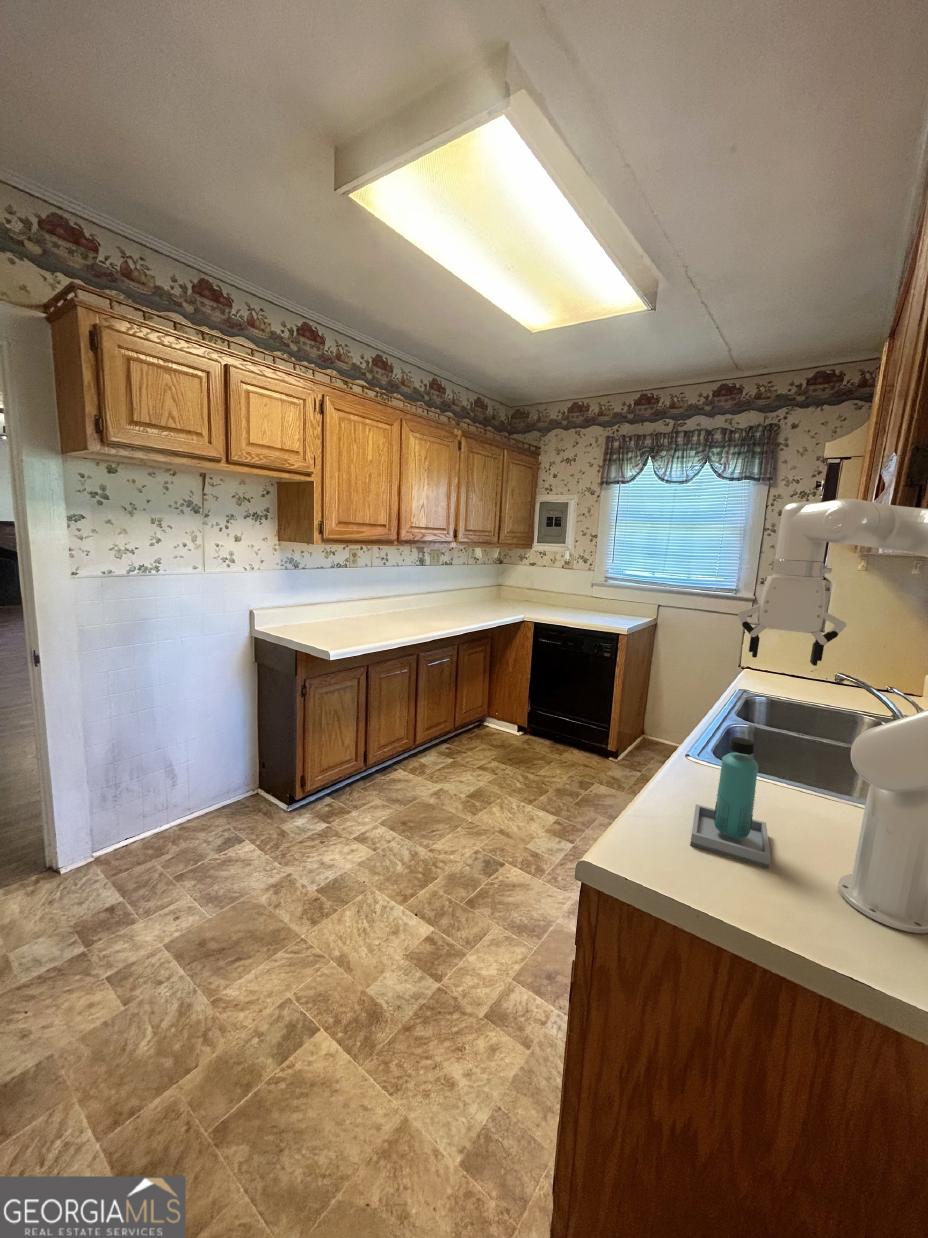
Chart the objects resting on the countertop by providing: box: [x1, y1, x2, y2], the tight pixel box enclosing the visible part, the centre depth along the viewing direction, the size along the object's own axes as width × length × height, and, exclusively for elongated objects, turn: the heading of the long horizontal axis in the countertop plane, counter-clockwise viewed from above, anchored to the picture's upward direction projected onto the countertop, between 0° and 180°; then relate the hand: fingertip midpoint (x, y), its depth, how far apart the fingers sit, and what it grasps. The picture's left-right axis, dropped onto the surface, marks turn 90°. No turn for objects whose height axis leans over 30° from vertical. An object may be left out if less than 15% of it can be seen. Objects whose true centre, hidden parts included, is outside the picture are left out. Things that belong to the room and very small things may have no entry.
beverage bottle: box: [714, 736, 759, 838], centre depth 97 cm, size 6×7×20 cm
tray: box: [689, 804, 772, 870], centre depth 98 cm, size 13×13×2 cm
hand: (783, 660), depth 95 cm, fingers open, 9 cm apart
